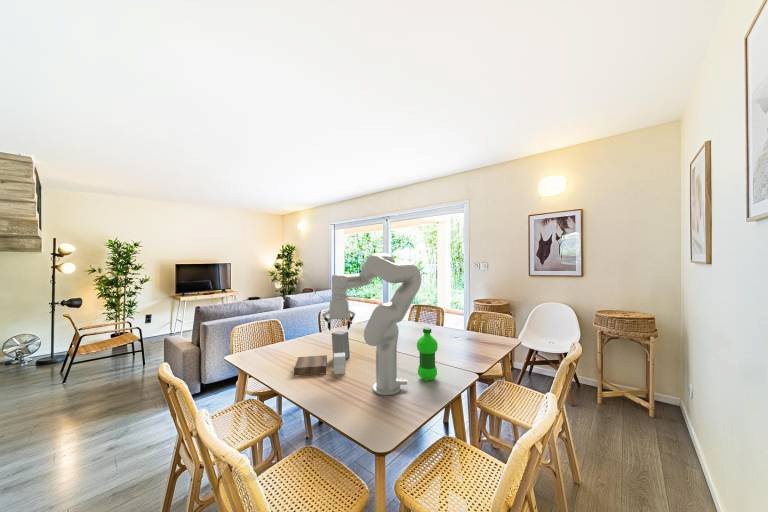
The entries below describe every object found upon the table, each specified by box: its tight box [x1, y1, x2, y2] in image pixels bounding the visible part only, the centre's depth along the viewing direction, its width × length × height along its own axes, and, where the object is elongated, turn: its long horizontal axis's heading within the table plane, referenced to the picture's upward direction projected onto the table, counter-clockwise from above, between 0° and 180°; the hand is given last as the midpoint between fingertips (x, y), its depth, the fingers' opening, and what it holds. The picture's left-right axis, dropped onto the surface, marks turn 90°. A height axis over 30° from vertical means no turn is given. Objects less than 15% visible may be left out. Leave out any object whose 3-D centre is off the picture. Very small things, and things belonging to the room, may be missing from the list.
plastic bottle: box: [416, 327, 438, 382], centre depth 140 cm, size 10×10×25 cm
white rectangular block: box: [333, 353, 346, 375], centre depth 149 cm, size 6×6×9 cm
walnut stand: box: [293, 354, 328, 376], centre depth 153 cm, size 16×16×4 cm
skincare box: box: [331, 330, 351, 360], centre depth 169 cm, size 8×7×16 cm
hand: (339, 329), depth 149 cm, fingers open, 9 cm apart
